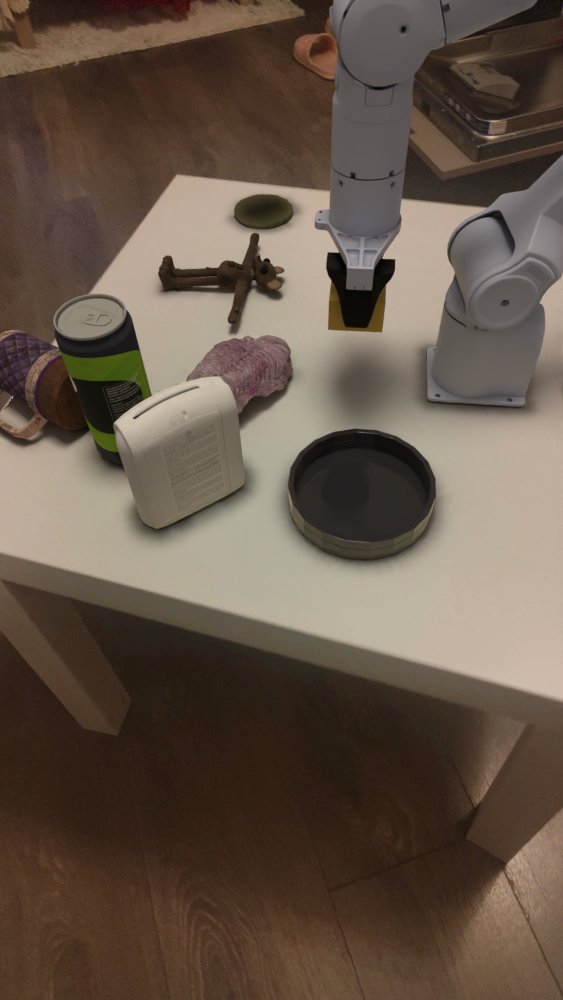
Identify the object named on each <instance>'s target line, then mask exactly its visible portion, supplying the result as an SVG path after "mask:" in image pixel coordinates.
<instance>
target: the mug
mask: <svg viewBox="0 0 563 1000" xmlns="http://www.w3.org/2000/svg"><path fill="white" fill-rule="evenodd" d="M4 392H5V393H7V394H8V395H10V396H12V397H13V398H15V399H16V400H17V401H19V402H21V403H23V404H24V405H26V406H27V407H28V408H30V409H31V411H33V412H34V413H35V414H33V417H32V418H31V419H30V421H29V422H28V423H27V424H26V425H25V426H23V427H22V428H17V427H14V426H12V425H10V424H8V423H6V422H5V421H3V420H2V419H0V429H1V430H2V431H4V432H5V433H7V434H9V435H11V436H13V437H14V438H19V439H20V438H21V439H30V438H32V437H34V436H35V435H37V434H38V432H40V430H41V429H42V428H43V427H44V426H45V425H46V424H47V422H48V421H49V422H50V423H54V424H55V425H56V426H58V427H60V428H61V429H65V430H68V431H75V430H76V431H77V430H80V429H82V428H85V427H87V426H88V423H87V421H86V418H85V415H84V413H83V410H82V408H81V405H80V402H79V400H78V397H77V394H76V392H75V389H74V387H73V384H72V381H71V379H70V376H69V373H68V371H67V368H66V365H65V363H64V360H63V358H62V355H61V352H60V350H59V347H58V346H57V345H54V344H52V343H49V342H46V341H44V340H42V339H39V338H38V337H35V336H34V335H31V334H29V333H28V332H26V331H22V330H19V329H13V328H5V329H1V330H0V395H2V394H3V393H4Z"/></svg>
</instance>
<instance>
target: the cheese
mask: <svg viewBox="0 0 563 1000" xmlns="http://www.w3.org/2000/svg"><path fill="white" fill-rule="evenodd" d="M329 287H330V288H329V295H328V296H329V298H328V313H327V315H328V317H327V330H328V331H341V332H343V331H344V332H361V333H383V328H384V321H385V311H386V302H387V301H386V299H387V298H386V297H387V285H386V286H385V287H384V288H383V290H382V292H381V293H380V295H379V297H378V300H377V303H376V305H375V309H374V312H373V315H372V318H371V320H370V323H369V325H368V327H367V328H350V327H345V325H344V322H343V318H342V313H341V307H340V301H339V296H338V293H337V290H336V288H335V286H334V284H333V282H332V281H331V280H330V286H329Z"/></svg>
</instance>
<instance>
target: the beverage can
mask: <svg viewBox="0 0 563 1000" xmlns="http://www.w3.org/2000/svg"><path fill="white" fill-rule="evenodd" d="M52 321H53V326H54V339H55V342H56V344H57V347H59V350H60V352H61V355H62V358H63V360H64V363H65V365H66V368H67V371H68V373H69V376H70V379H71V381H72V384H73V387H74V389H75V392H76V394H77V397H78V400H79V402H80V405H81V408H82V410H83V413H84V415H85V418H86V421H87V423H88V425H87V426H88V429H89V432H90V434H91V436H92V439H93V442H94V444H95V447H96V450H97V451H98V453H99V454H100V455H101V456H102V458H104V459H105V460H107V461H108V462H112V463H116V464H121V465H123V463H122V460H121V457H120V454H119V451H118V448H117V444H116V435H115V431H114V427H113V425H114V422H115V421H116V420H117V419H119V418H120V417H121V416H122V415H123V414H124V413H126V412H127V411H128V410H130V409H131V408H132V407H134V406H135V405H137V404H139V403H140V402H142V401H144V400H145V399H147V398H149V397H151V396H153V395H152V390H151V387H150V383H149V379H148V375H147V372H146V367H145V363H144V360H143V356H142V352H141V348H140V344H139V340H138V337H137V333H136V329H135V325H134V321H133V318H132V316H131V314H130V312H129V311H128V310H127V307H126V305H125V303H124V302H123V300H121V299H120V298H118V297H116V296H114V295H111V294H108V293H97V292H96V293H88V294H83V295H79V296H76V297H73V298H72V299H70V300H67V301H66V302H64V303H63V304H62V305H60V307H59V308H57V310H56V311H55V313H54V316H53V319H52Z"/></svg>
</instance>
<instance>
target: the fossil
mask: <svg viewBox="0 0 563 1000" xmlns="http://www.w3.org/2000/svg"><path fill="white" fill-rule="evenodd" d="M291 354H292V351H291V348H290V346H289V344H288V342H287V341H286V340H285V339H283V338H281V337H279V336H275V335H270V334H266V335H261V336H259V337H257V338H254V337H253V336H250V335H246V336H243V338H237V337H236V338H235V337H233V338H230V339H228V340H227V339H226V340H223V341H220V342H218V343H216V344H213V347H212V349H210V350H209V351H208V352H206V353H205V355H204V356H203V358H202V359H201V361H200V362H198V363H197V364H196V366H195V368H194V369H193V370H192V371H191V372H190V373H189V374H188V375H187V377H186V380H185V382H187V381H191V380H195V379H199V378H205V377H216V376H219V377H221V378H222V380H223V381H224V382H225V383H226V384H228V385H229V387H230V389H231V391H232V393H233V396H234V398H235V401H236V405H237V410H238V415H240V413H242V412H243V409H244V407H246V405H247V404H248V402H249V401H250V400H251V399H252V398H254V397H262V398H266V397H269V396H270V395H271V394H273V393H274V392H278V391H281V390H283V389H284V386H286V385H288V379H289V378H290V377H292V374H293V371H294V368H293V366H292V358H291Z"/></svg>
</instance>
